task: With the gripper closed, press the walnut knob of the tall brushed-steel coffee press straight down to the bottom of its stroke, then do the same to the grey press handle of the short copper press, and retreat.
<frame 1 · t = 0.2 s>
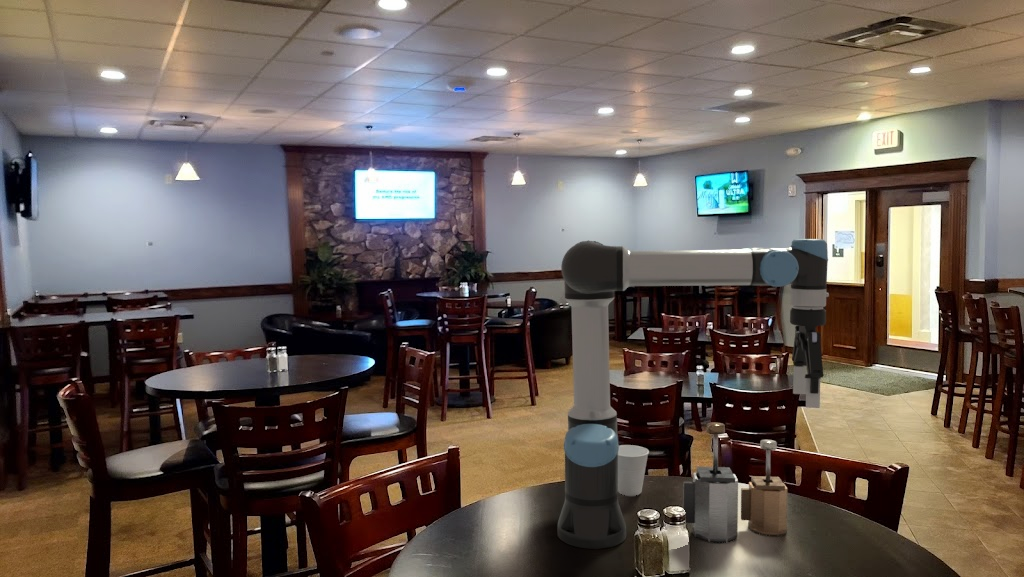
hand: (805, 400, 165), 28 cm above the table, fingers open, 13 cm apart
grey press handle: (768, 466, 162), point 14 cm above the table, slide at 0.0 cm
cup: (629, 493, 187), on the table
steel press: (714, 534, 160), on the table
copper press: (767, 528, 163), on the table
steel plunger: (715, 453, 159), point 18 cm above the table, slide at 0.0 cm
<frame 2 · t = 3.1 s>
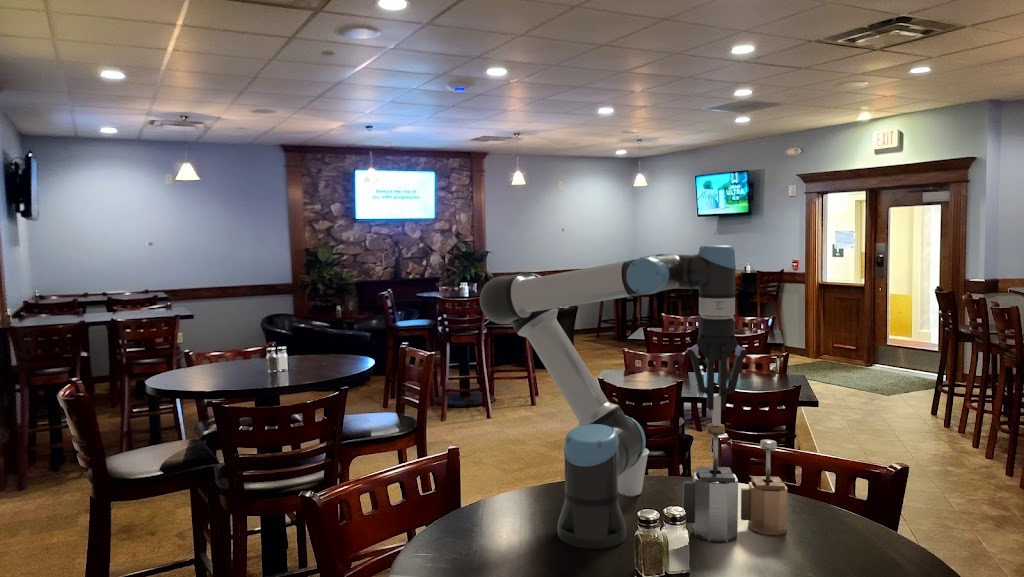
hand: (716, 424, 158), 25 cm above the table, fingers closed
steel plunger: (715, 454, 159), point 18 cm above the table, slide at 0.2 cm, touching gripper
everything else where it was.
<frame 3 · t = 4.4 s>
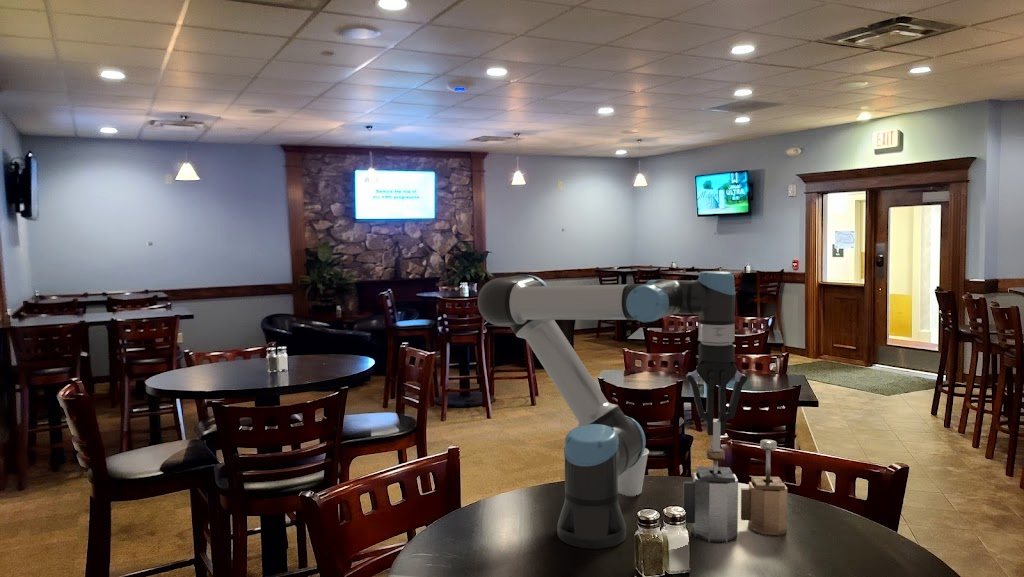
hand: (715, 449, 159), 19 cm above the table, fingers closed
steel plunger: (715, 479, 159), point 12 cm above the table, slide at 5.8 cm, touching gripper
everything else where it was.
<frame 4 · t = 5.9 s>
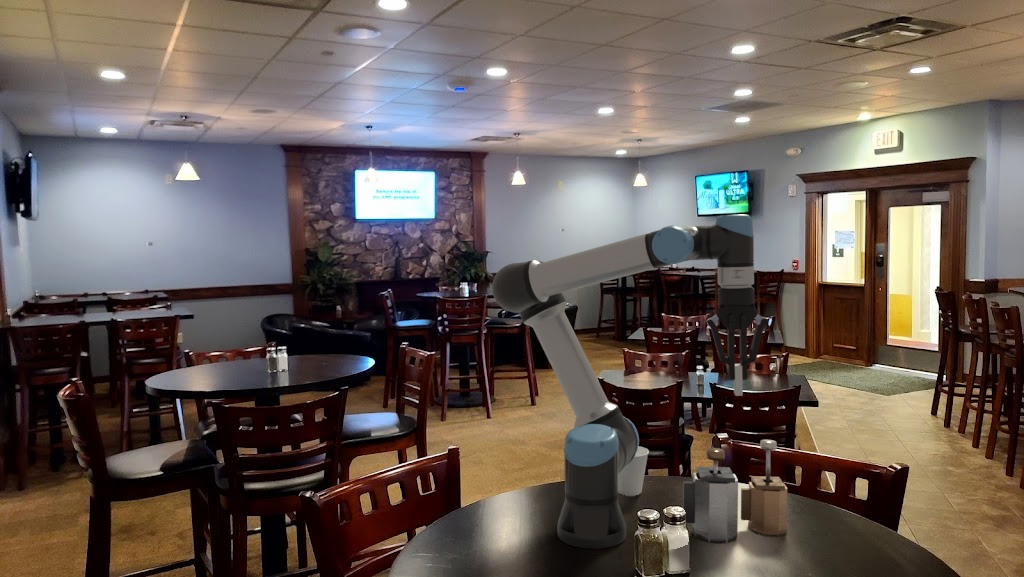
hand: (738, 394, 158), 31 cm above the table, fingers closed
steel plunger: (715, 479, 159), point 12 cm above the table, slide at 5.8 cm
everything else where it was.
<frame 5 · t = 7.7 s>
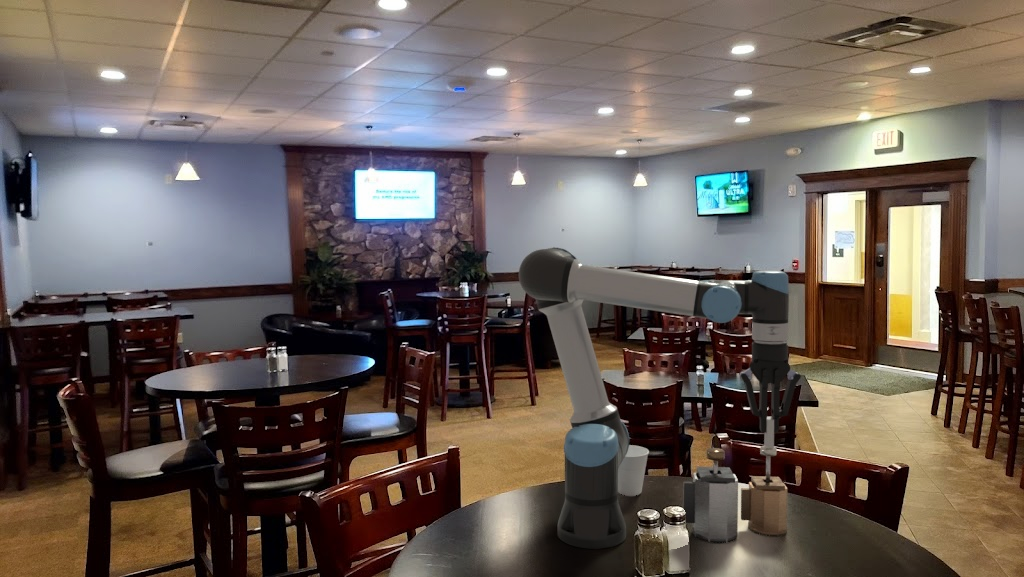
hand: (768, 446, 161), 19 cm above the table, fingers closed
grey press handle: (768, 471, 162), point 13 cm above the table, slide at 1.3 cm, touching gripper
everything else where it was.
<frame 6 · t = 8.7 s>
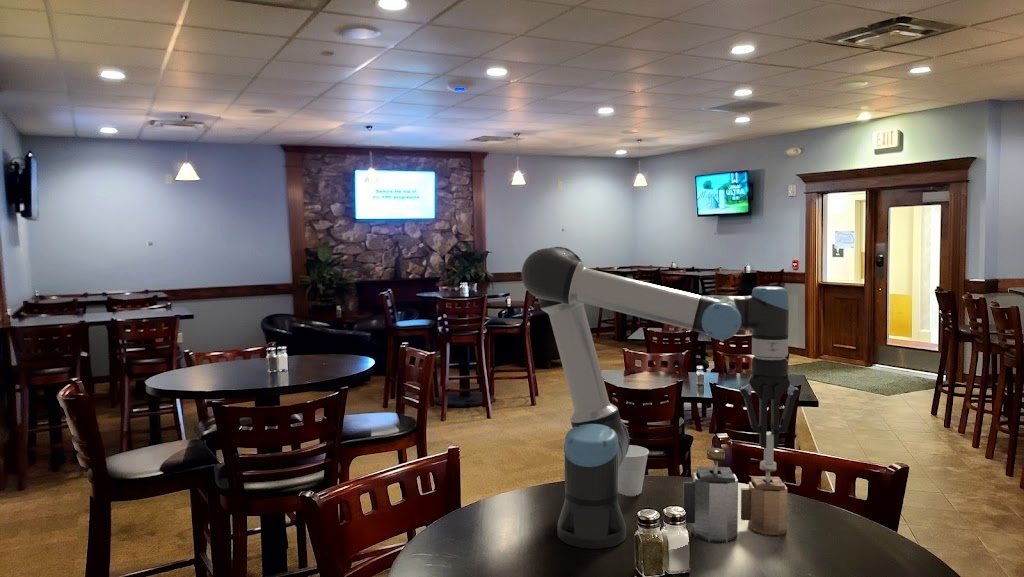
hand: (768, 461, 161), 15 cm above the table, fingers closed
grey press handle: (767, 486, 162), point 10 cm above the table, slide at 4.8 cm, touching gripper
everything else where it was.
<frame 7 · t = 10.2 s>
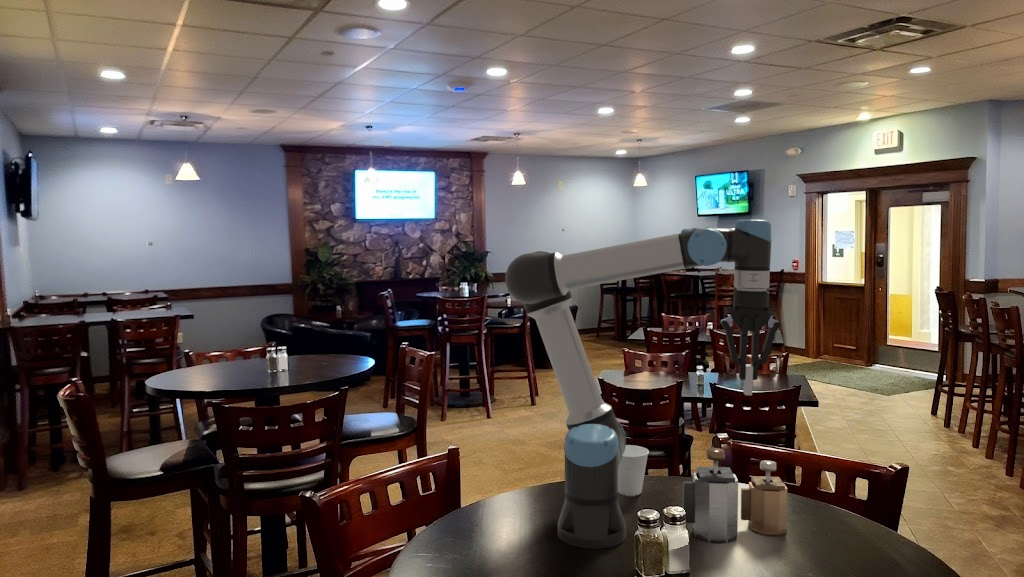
hand: (747, 393, 163), 30 cm above the table, fingers closed
grey press handle: (767, 487, 162), point 10 cm above the table, slide at 4.8 cm
everything else where it was.
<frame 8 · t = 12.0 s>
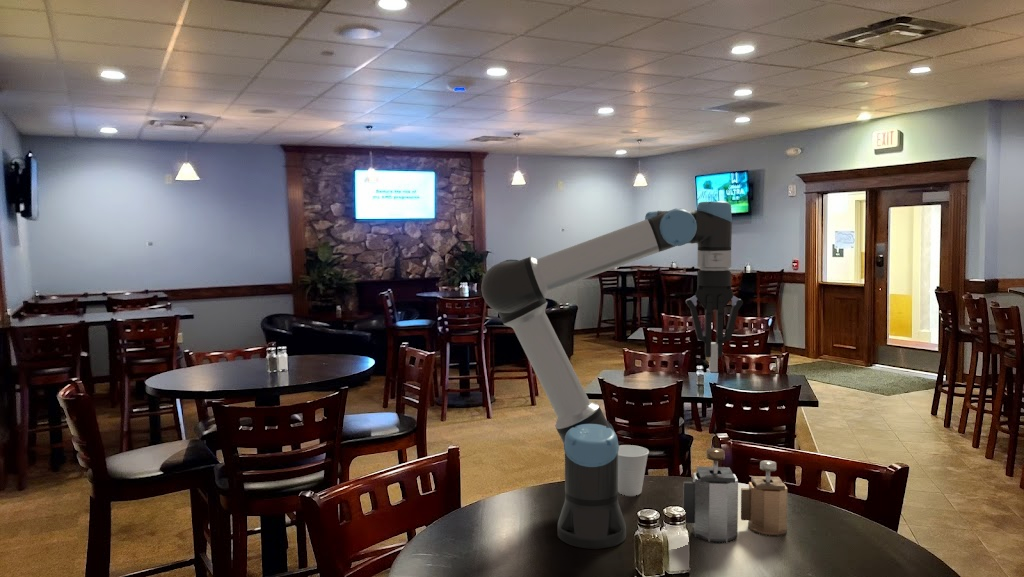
hand: (713, 370, 168), 34 cm above the table, fingers closed
nothing on the table moved.
at the end: steel plunger slide at 5.8 cm; grey press handle slide at 4.8 cm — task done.
